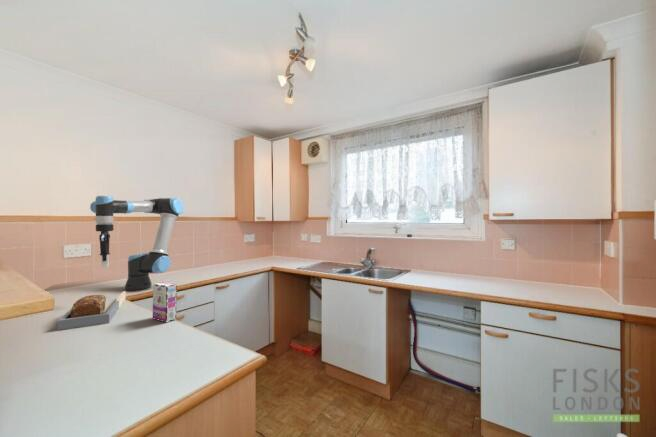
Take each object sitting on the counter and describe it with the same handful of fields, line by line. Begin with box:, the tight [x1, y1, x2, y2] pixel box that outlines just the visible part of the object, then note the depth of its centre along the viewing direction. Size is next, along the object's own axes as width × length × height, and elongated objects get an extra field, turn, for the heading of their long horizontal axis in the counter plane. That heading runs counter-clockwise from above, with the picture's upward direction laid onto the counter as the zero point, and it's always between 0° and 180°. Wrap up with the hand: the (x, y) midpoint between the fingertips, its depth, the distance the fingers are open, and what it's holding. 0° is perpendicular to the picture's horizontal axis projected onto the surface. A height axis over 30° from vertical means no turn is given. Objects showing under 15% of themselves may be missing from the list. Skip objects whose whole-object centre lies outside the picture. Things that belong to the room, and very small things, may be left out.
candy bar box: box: [152, 281, 178, 322], centre depth 126 cm, size 11×5×16 cm, turn 62°
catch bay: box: [57, 290, 127, 331], centre depth 137 cm, size 17×46×4 cm, turn 29°
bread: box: [70, 294, 107, 318], centre depth 128 cm, size 19×11×10 cm, turn 33°
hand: (105, 266), depth 149 cm, fingers closed
